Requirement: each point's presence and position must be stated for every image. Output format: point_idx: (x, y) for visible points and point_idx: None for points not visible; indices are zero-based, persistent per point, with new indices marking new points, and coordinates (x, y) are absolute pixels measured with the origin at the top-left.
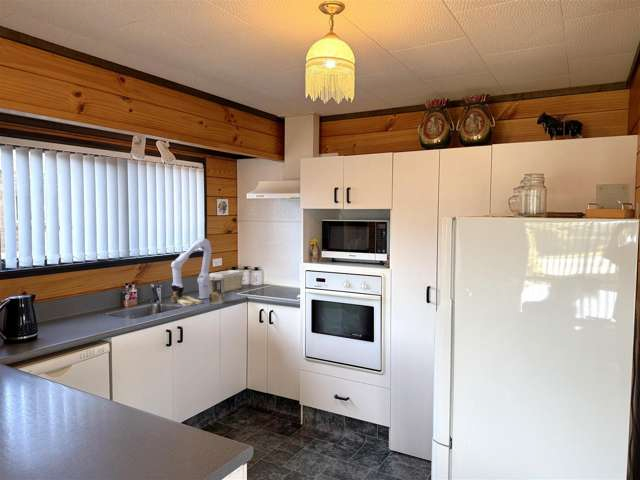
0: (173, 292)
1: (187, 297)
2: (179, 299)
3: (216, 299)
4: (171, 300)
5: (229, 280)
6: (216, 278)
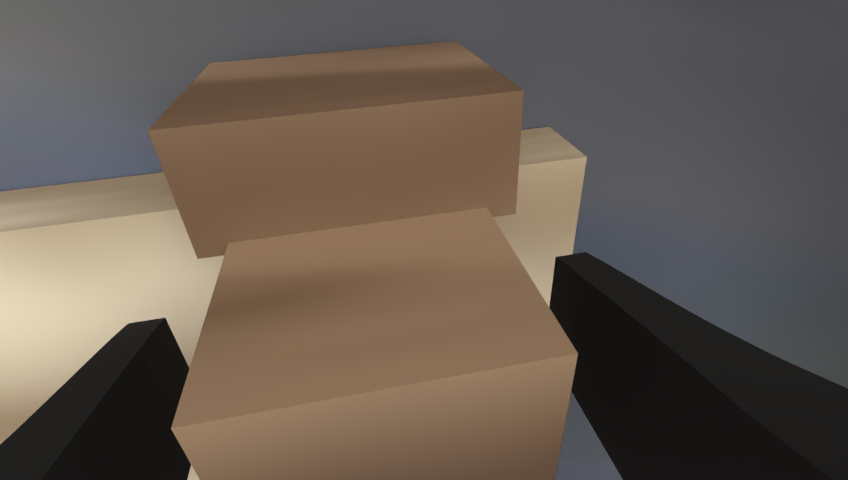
0: (548, 311)
1: None
2: None
3: None
4: (436, 53)
5: None
6: None
